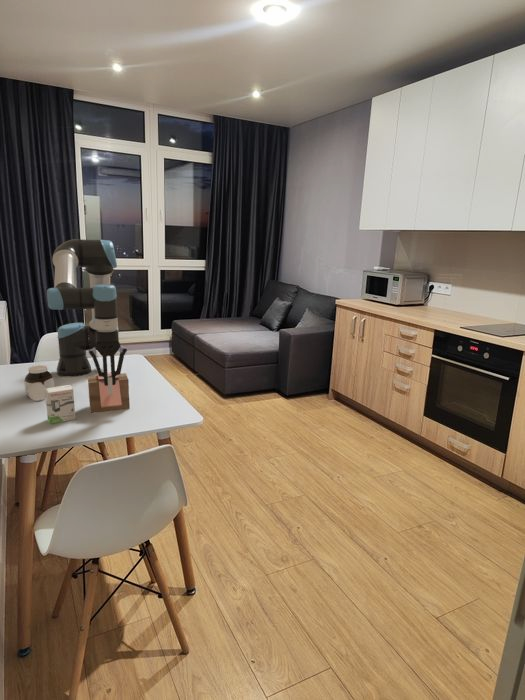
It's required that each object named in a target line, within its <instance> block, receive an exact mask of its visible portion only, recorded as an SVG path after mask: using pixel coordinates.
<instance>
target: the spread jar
mask: <svg viewBox="0 0 525 700" xmlns="http://www.w3.org/2000/svg"><path fill="white" fill-rule="evenodd" d="M52 387H55V381H54V376H53V374H51V372H50V371H48V365H41V364H40V365H38V364H37V365H33V366H30V367H29V368H28V373H27V374H26V375H25V378H24V389H25V393H26V394H27V395H28V397H29V398H30V399H31V400H32V401H38V402H40V401H42V400H44V399H46V394H45V389H47V388H52Z"/></svg>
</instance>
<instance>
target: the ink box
mask: <svg viewBox="0 0 525 700" xmlns="http://www.w3.org/2000/svg"><path fill="white" fill-rule="evenodd" d="M45 394H46V397H45V404H46V412H47V414H46V415H47V420H48V423H49V424H51V425H52V424H57V423H63V422H67V421H73V420H76V419H77V418H76V408H75V406H76V405H75V395H74V388H73V387H72V385H70V384H68V385H67V384H66V385H59V386H54V387H52V388H47V389H45Z"/></svg>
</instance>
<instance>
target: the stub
mask: <svg viewBox="0 0 525 700" xmlns="http://www.w3.org/2000/svg"><path fill="white" fill-rule="evenodd" d="M99 390H100V400H101V408H104V407H113V406H121V405H122V402H121V394H120V386H119V380H116V384H115V385H113V395H109V394H108V386H105V385H104V381H100V382H99Z"/></svg>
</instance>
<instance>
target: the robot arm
mask: <svg viewBox="0 0 525 700" xmlns="http://www.w3.org/2000/svg"><path fill="white" fill-rule="evenodd" d="M115 252H116V251H115V247H114V244H113V241H112V240H107V239H106V240H105V239H78V238H73V239H69V240H66V241H64V242H62V243H61V244H60V245H59V246H57V247H56V248H55V250H54V252H53V255H52V264H53V266H54V283H53V284H54V286H53V287H50V288H48V289H47V290H46V295H47V296H46V298H47V306H48V308H49V309H50V310H59V311H62V310H64V311H65V310H91V320H90V321H89V324H88V325H85V324H84V322H73V323H71V322H70V323H67V324H64V325H61V326H59V327H58V329H57V339H58V340H57V341H58V355H59V358H58V363H57V367H56V375H57V376H60V377H65V378H66V377H67V378H68V377H69V378H70V377H71V378H72V377H74V378H75V377H80V376H84V375H87V374H90V373H91V372H92V367H91V366H92V365H91V364H90V361H89V358H88V356H87V351H88V354H89V355H90V357H92V360H93V362H94V363H93V364H94V366H95V369H96V371H97V374H98V375H99V376H102V377H104V385H105V386H108V394H109V395H113V385H115V384H116V380H115V376H116V375H119V374H122V367H123V362H124V358H125V355H126V353H127V351H128V349H127V347H126V346H122V345H121V343H120V341H119V339H120V338H119V332H120V331H119V323H118V319H119V317H118V301H117V299H118V298H117V297H118V294H117V289H116V286H115V285H112V284H111V275H112V274H113V273H114V269H116V268H117V267H118V265H117V264H118V263H117V257H116V253H115ZM77 268H85V272H86V273H87V274H88V275H89V285H90V286H89V287H77ZM118 351H119V352H120V353H119V356H118V360H117V365H116V363H115V355H116V354H117V352H118ZM97 352H98V354H100V355H101V356H102V369H103V371H102V369H101V365H100V363H99V360H98V357H97ZM108 357H110V360H109V361H110V372H111V375H108V360H107V359H108ZM98 375H97V376H98Z"/></svg>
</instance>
